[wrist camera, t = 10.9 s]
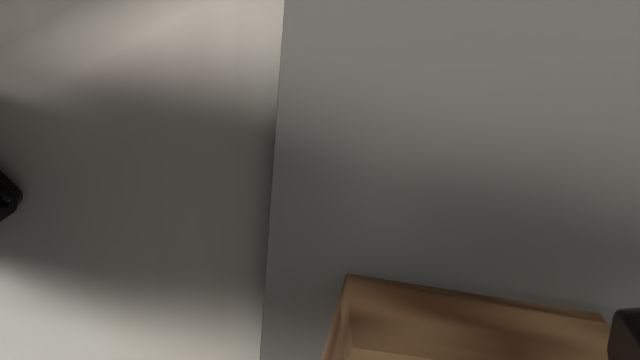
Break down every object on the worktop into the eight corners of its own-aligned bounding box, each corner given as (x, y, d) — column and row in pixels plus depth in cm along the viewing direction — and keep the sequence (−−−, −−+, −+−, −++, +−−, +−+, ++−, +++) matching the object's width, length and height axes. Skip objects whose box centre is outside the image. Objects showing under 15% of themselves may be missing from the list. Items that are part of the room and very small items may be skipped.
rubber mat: (552, 484, 28) (558, 501, 27) (252, 469, 27) (250, 486, 26) (807, -65, 16) (830, -61, 15) (293, -122, 15) (293, -121, 14)
